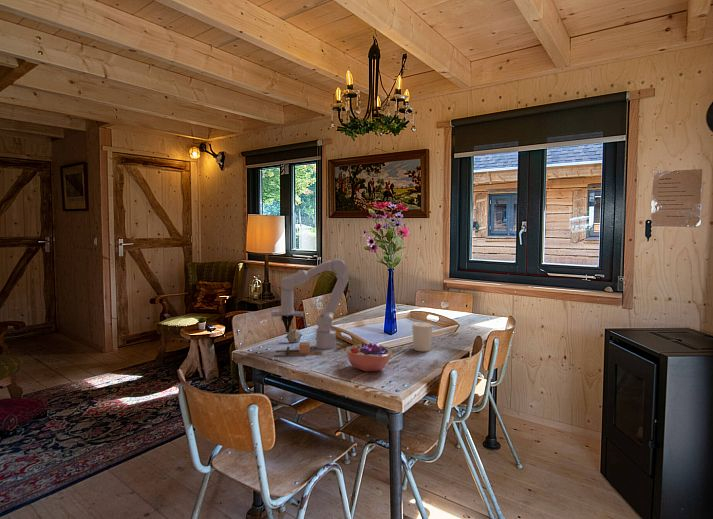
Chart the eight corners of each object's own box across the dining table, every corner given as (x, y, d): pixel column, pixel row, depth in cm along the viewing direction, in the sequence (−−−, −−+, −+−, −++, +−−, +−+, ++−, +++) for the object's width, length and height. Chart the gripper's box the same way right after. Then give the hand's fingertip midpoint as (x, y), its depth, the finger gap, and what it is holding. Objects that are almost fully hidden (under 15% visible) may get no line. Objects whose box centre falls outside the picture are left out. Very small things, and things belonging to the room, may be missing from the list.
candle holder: (407, 349, 207) (407, 324, 206) (419, 345, 214) (419, 321, 213) (424, 353, 200) (425, 327, 200) (436, 348, 208) (436, 324, 207)
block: (309, 352, 198) (309, 342, 197) (309, 354, 193) (309, 344, 193) (299, 352, 197) (299, 342, 197) (299, 355, 193) (299, 345, 192)
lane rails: (306, 353, 199) (306, 349, 199) (306, 358, 191) (306, 354, 191) (276, 354, 198) (276, 350, 198) (274, 359, 190) (274, 355, 190)
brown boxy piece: (322, 353, 199) (322, 345, 199) (322, 357, 193) (322, 349, 193) (287, 354, 198) (287, 346, 197) (286, 358, 192) (286, 350, 191)
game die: (296, 351, 215) (298, 339, 209) (281, 345, 216) (283, 332, 210) (304, 339, 222) (306, 327, 215) (289, 333, 223) (291, 320, 217)
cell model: (359, 360, 190) (359, 334, 189) (399, 368, 178) (400, 341, 178) (336, 370, 176) (336, 343, 175) (378, 380, 164) (378, 351, 164)
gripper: (270, 304, 197) (271, 333, 198) (302, 304, 198) (302, 333, 199) (272, 301, 204) (272, 330, 205) (303, 301, 205) (303, 329, 206)
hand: (287, 331), depth 202 cm, fingers closed
